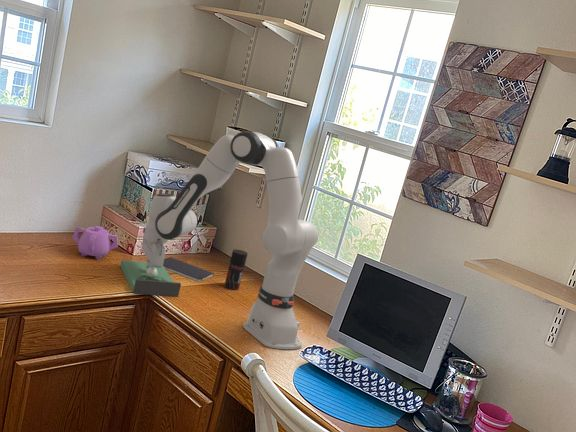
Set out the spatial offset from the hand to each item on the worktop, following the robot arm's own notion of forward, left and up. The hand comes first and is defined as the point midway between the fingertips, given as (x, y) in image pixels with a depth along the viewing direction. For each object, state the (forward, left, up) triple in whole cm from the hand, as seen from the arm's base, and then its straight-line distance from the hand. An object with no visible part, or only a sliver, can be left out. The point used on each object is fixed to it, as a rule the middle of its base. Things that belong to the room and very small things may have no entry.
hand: (149, 270), depth 223 cm
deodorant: (-2, -34, -4) cm, 34 cm away
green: (-2, 0, -3) cm, 4 cm away
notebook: (+13, -18, -4) cm, 23 cm away
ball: (-5, 0, +1) cm, 5 cm away
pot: (+21, +17, -4) cm, 27 cm away
